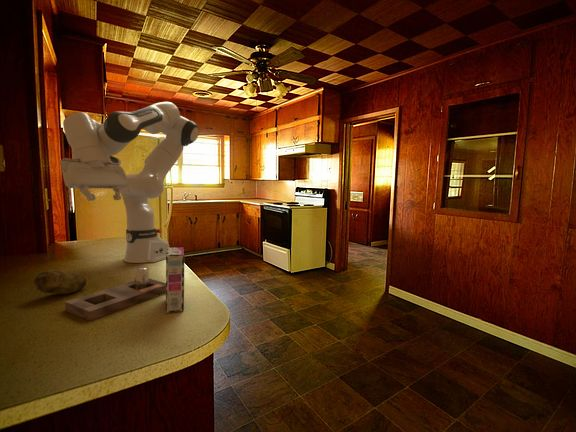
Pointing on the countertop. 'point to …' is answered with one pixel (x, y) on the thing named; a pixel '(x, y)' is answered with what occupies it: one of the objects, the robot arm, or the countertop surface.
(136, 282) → the metal peg
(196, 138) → the robot arm
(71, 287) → the potato
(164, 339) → the countertop surface
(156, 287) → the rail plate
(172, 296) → the candy bar box
